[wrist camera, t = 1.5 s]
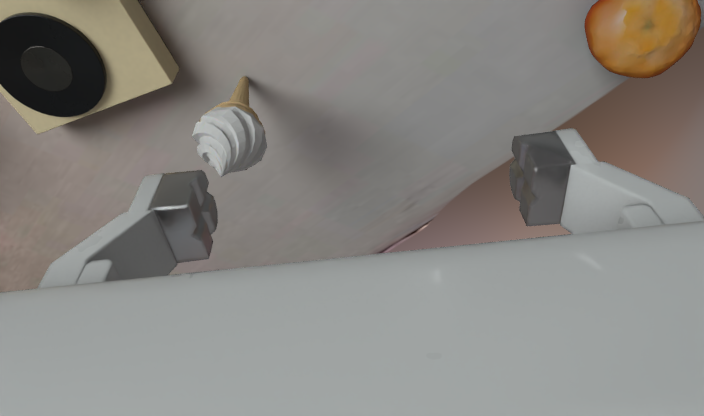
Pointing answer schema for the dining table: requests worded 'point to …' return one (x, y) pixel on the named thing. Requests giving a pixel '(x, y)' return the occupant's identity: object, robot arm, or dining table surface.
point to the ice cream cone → (231, 134)
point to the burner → (50, 65)
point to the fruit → (641, 34)
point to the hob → (104, 50)
